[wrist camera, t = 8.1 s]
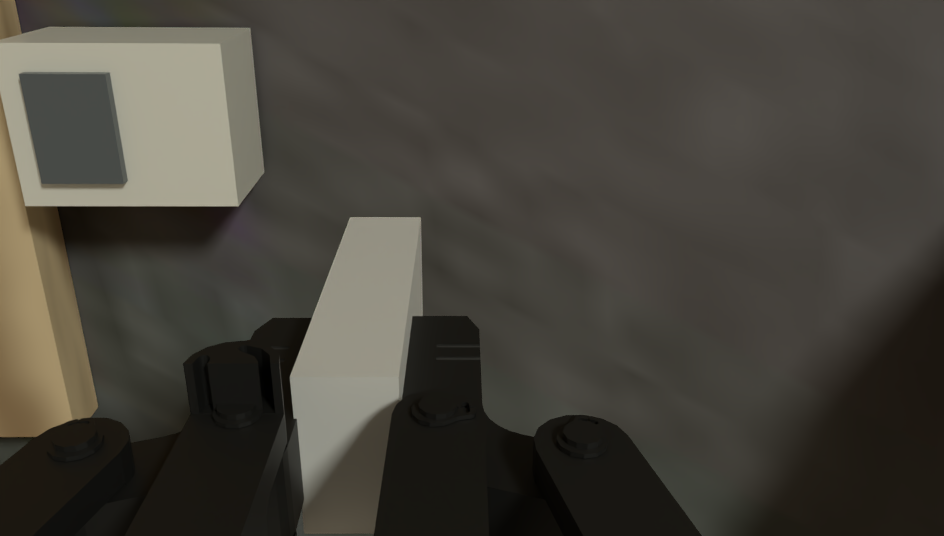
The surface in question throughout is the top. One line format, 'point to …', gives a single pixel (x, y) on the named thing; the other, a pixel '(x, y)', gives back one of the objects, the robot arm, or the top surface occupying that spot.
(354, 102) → the top surface
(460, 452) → the robot arm
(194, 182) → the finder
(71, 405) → the batten
